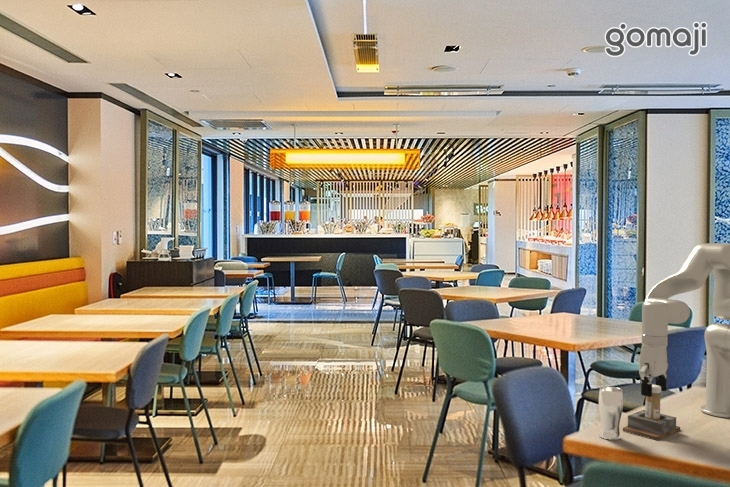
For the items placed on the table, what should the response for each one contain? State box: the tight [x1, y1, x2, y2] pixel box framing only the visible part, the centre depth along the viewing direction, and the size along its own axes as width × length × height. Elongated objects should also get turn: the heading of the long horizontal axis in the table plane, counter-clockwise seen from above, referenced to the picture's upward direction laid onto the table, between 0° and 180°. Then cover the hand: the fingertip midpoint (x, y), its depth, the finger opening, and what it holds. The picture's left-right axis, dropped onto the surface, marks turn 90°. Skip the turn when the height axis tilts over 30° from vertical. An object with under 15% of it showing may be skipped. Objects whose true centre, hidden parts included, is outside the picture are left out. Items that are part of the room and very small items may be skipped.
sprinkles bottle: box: [644, 383, 662, 421], centre depth 201 cm, size 5×5×14 cm
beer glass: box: [598, 385, 624, 441], centre depth 193 cm, size 7×7×15 cm
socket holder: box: [622, 409, 681, 441], centre depth 201 cm, size 16×11×4 cm
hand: (653, 393), depth 201 cm, fingers open, 9 cm apart
